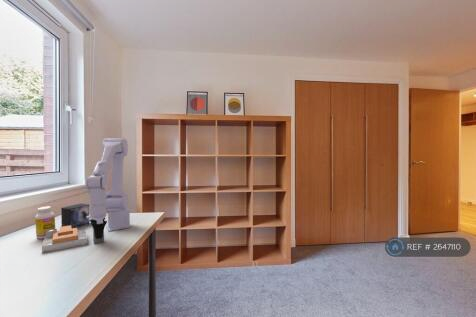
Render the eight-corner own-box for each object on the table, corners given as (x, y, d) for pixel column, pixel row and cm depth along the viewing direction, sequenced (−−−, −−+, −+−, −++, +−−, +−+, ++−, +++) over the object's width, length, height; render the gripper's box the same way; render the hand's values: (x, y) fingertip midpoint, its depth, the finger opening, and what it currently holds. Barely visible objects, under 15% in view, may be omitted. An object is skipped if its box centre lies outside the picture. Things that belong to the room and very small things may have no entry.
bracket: (76, 227, 108) (76, 224, 108) (77, 238, 94) (77, 235, 94) (54, 231, 104) (54, 227, 103) (52, 243, 89) (52, 239, 89)
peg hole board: (85, 234, 106) (84, 223, 106) (87, 244, 95) (86, 231, 95) (45, 241, 98) (44, 229, 98) (42, 253, 86) (41, 239, 86)
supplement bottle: (42, 240, 100) (40, 210, 99) (33, 238, 102) (30, 209, 101) (59, 234, 106) (57, 206, 105) (50, 232, 108) (47, 205, 107)
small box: (70, 230, 113) (69, 208, 113) (60, 228, 115) (60, 207, 115) (90, 223, 123) (89, 203, 123) (81, 222, 125) (80, 203, 125)
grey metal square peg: (103, 239, 99) (102, 220, 99) (104, 242, 97) (103, 222, 96) (93, 241, 97) (92, 222, 97) (94, 244, 95) (93, 224, 94)
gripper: (85, 202, 100) (85, 234, 100) (87, 209, 88) (88, 244, 89) (104, 200, 104) (104, 230, 105) (108, 206, 93) (109, 240, 93)
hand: (98, 237), depth 97 cm, fingers closed on grey metal square peg, 3 cm apart
